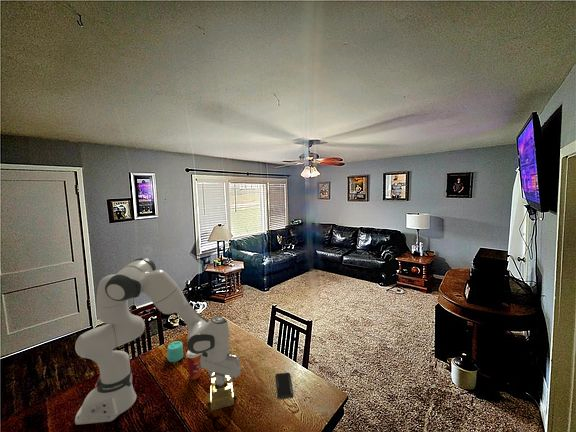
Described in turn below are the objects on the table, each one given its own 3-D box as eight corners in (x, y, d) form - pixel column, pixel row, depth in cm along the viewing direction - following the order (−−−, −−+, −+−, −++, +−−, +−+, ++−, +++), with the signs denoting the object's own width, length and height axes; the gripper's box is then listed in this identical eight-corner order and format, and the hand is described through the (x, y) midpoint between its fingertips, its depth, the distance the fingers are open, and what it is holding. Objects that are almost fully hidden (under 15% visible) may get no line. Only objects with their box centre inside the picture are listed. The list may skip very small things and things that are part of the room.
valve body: (207, 411, 110) (206, 394, 109) (207, 394, 120) (207, 378, 119) (237, 403, 114) (236, 387, 113) (235, 387, 123) (234, 372, 123)
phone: (289, 372, 132) (293, 395, 117) (289, 374, 132) (293, 397, 118) (275, 373, 132) (276, 396, 117) (275, 375, 132) (276, 399, 117)
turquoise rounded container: (183, 360, 145) (182, 347, 144) (167, 363, 141) (167, 350, 141) (183, 352, 152) (182, 339, 151) (168, 355, 149) (167, 342, 148)
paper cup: (197, 382, 127) (196, 356, 126) (184, 379, 129) (183, 354, 128) (205, 371, 135) (204, 347, 134) (193, 369, 137) (191, 345, 135)
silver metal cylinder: (215, 394, 114) (214, 376, 113) (218, 387, 119) (217, 369, 118) (224, 395, 114) (223, 377, 113) (227, 387, 118) (226, 370, 117)
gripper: (243, 352, 114) (244, 380, 115) (206, 343, 121) (207, 370, 122) (235, 361, 108) (236, 391, 109) (197, 351, 115) (199, 379, 116)
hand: (221, 380), depth 116 cm, fingers open, 8 cm apart
